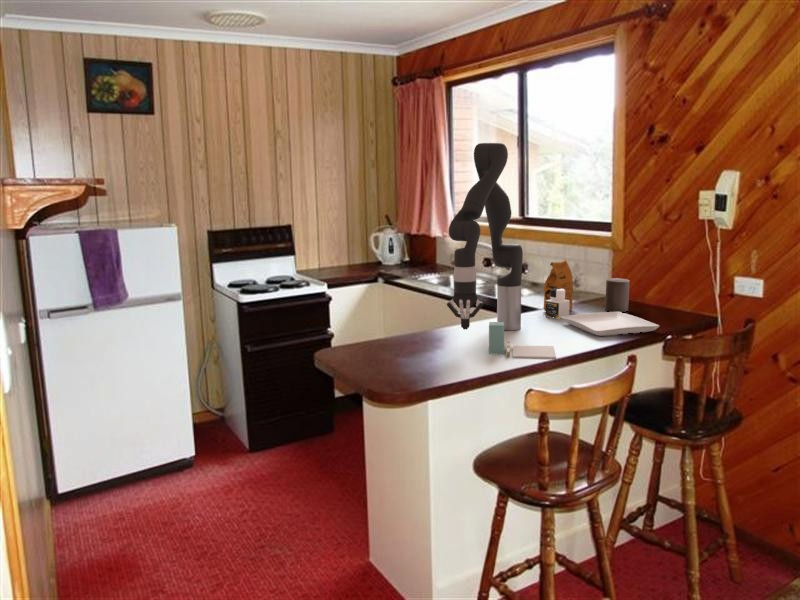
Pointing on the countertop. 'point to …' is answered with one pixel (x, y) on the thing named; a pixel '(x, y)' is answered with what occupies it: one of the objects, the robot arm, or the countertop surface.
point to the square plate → (610, 323)
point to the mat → (533, 352)
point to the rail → (508, 349)
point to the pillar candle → (617, 295)
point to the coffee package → (559, 281)
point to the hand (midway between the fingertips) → (465, 328)
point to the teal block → (496, 337)
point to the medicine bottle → (557, 304)
